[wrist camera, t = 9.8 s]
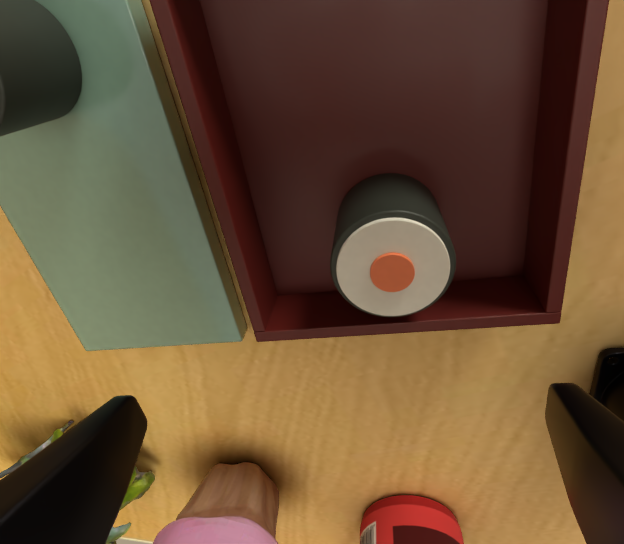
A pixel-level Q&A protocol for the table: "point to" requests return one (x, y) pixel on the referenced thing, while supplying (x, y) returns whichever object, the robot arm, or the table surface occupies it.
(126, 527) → the passion flower
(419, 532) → the canned food
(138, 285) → the plate
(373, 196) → the cylinder
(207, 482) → the cupcake
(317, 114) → the sushi box
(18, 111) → the cylinder
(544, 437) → the table surface
